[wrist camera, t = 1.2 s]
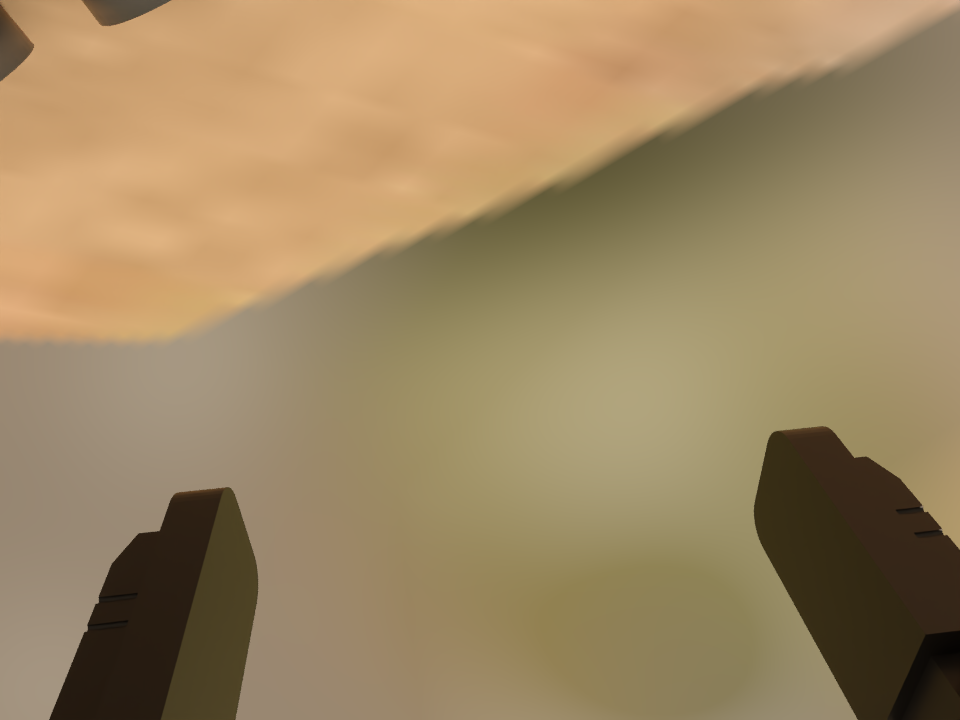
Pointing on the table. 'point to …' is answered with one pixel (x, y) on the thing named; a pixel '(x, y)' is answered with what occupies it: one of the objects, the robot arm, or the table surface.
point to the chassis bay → (109, 3)
